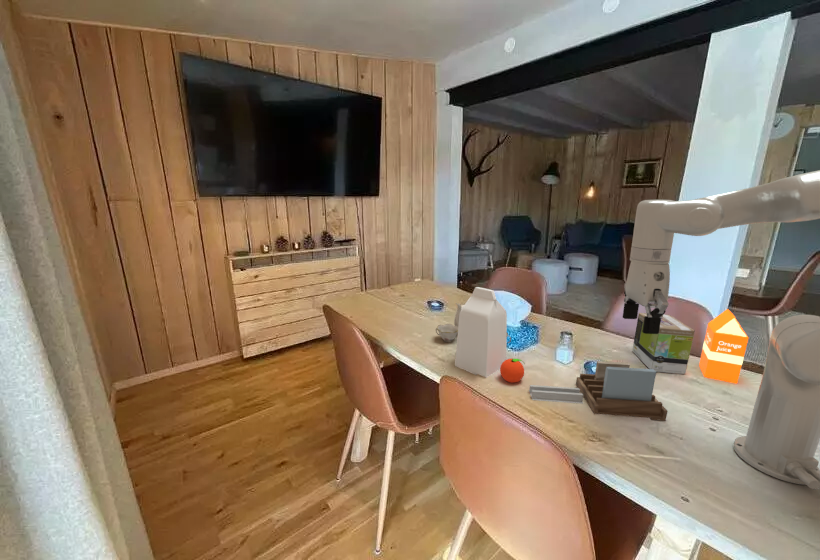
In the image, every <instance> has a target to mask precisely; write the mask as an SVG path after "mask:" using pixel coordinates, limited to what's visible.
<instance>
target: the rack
mask: <svg viewBox="0 0 820 560" xmlns="http://www.w3.org/2000/svg"><path fill="white" fill-rule="evenodd" d="M630 366H631V365H630V363H629V362H623V361H622V362H621V361H617V362H616V361H605V360H604V361H603V360H602V361H601V360H600V361H599V360H596V366H595V373H579V377H578V376H577V377H576V379H575V380H576V381H575V385H576V386H577V387H576V388H579V389H580V393H582V394H583V399H584V400H585V401H586V403H587V405H588V406H589V408H590V409H591V411H592V412H593V414H594V415H595V414H596V415H609V416H622V417H634V418H636V417H637V418H649V419H650V420H651V421H662V422H663V421H664V422H665V421H666V420H667V416H668V410H667V409H666V407H664V406H663V403H662V402H661V401H660V400H658V399H657V398H656V395H655V394H652V398H651V401H639V400H624V399H610V398H602V392H603V385H604V378H605V371H606V367H622V368H631V367H630Z"/></svg>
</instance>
